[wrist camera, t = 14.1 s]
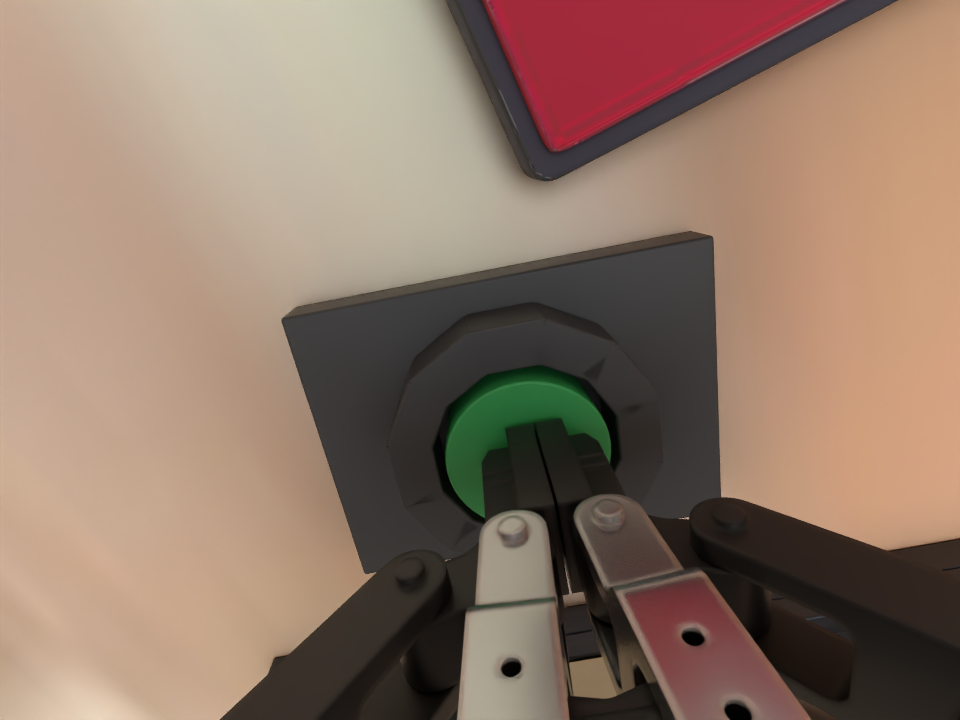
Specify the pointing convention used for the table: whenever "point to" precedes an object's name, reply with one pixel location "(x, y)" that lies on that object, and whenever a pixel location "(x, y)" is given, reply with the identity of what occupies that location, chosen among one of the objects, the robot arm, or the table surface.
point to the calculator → (625, 63)
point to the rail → (943, 556)
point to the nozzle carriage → (591, 679)
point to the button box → (508, 346)
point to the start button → (512, 420)
